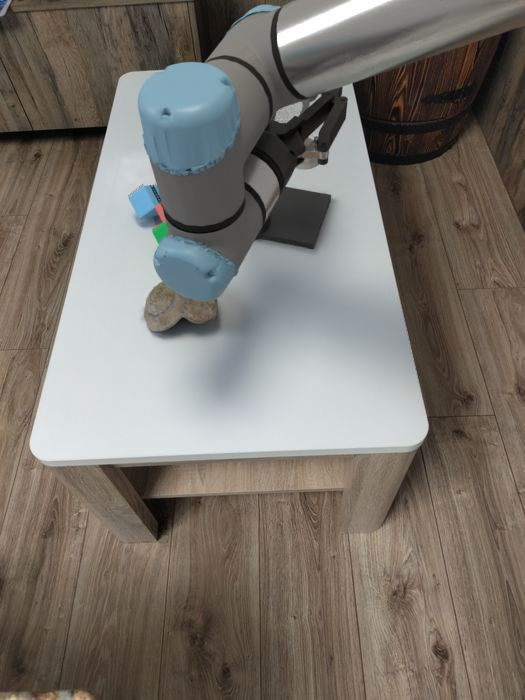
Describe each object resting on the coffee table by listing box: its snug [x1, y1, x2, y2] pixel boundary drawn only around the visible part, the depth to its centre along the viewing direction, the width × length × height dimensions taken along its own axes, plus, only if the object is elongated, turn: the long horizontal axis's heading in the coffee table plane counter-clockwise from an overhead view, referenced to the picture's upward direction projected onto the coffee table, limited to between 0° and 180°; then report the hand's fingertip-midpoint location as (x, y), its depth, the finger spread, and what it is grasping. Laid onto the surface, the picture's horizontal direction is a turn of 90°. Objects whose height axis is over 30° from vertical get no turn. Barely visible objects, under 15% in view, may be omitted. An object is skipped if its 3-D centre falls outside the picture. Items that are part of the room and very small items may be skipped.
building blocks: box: [127, 182, 168, 245], centre depth 81 cm, size 8×8×12 cm
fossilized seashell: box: [143, 280, 218, 333], centre depth 73 cm, size 11×11×7 cm
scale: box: [256, 186, 332, 250], centre depth 83 cm, size 14×13×3 cm
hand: (320, 67), depth 65 cm, fingers closed on chalice, 5 cm apart
